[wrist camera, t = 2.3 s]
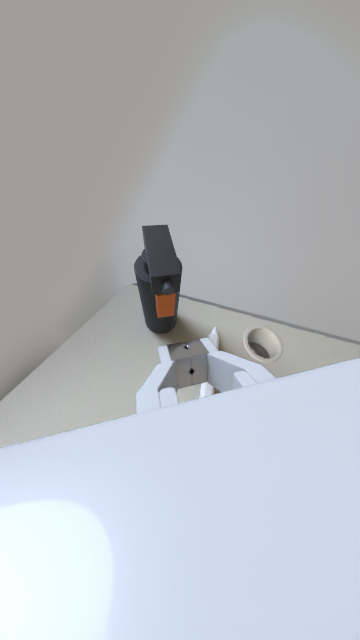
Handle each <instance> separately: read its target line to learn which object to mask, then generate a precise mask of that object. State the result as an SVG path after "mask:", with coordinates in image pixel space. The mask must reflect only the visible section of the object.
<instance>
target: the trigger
mask: <svg viewBox="0 0 360 640" xmlns="http://www.w3.org/2000/svg"><path fill="white" fill-rule="evenodd" d="M155 296H156V308H157V316H158V318H161V317H168V316H174V311H175V299H176V293H173V294H171V295H164V294H160V295H155Z"/></svg>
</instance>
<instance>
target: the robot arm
mask: <svg viewBox="0 0 360 640" xmlns="http://www.w3.org/2000/svg"><path fill="white" fill-rule="evenodd" d="M158 355H159V362H160V363H159V364H158V365H157V366H156V368H155V369H154V370H153V372H152V373H151V374H150V376H149V377H148V379H147V380H146V381H145V383H144V384H143V385H142V387H141V388H140V390H139V391H138V392H137V394H136V414H134V415H130V416H126V417H122V418H118V419H114V420H110V421H106V422H102V423H98V424H94V425H90V426H87V427H83V428H79V429H75V430H71V431H67V432H63V433H59V434H55V435H51V436H47V437H43V438H39V439H35V440H31V441H27V442H23V443H19V444H15V445H11V446H7V447H3V448H0V640H360V358H356V359H352V360H348V361H344V362H340V363H336V364H332V365H328V366H324V367H320V368H316V369H312V370H308V371H305V372H301V373H297V374H293V375H289V376H285V377H281V378H276V377H275V376H274V375H273V374H272V373H271V372H269V371H268V370H267V369H266V368H265V367H264V366H263V365H260V364H257V363H255V362H252V361H249V360H246V359H243V358H240V357H238V356H235V355H232V354H229V353H226V352H224V351H219V350H218V349H217V348H216V347H215V346H214V345H213V343H212V342H211V341H210V340H209V339H208V338H203V339H198V340H193V341H189V342H184V343H177V344H171V345H164V346H159V347H158ZM205 382H208V383H209V384H210V385H212V386H213V387H214V388H216V389H217V390H219V391H220V392H221V393H217V394H213V395H209V396H206V397H202V398H198V399H194V400H190V401H186V402H182V403H179V401H178V398H177V394H176V393H177V390H178V389H180V388H183V387H187V386H191V385H196V384H200V383H205Z"/></svg>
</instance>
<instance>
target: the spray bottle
mask: <svg viewBox="0 0 360 640" xmlns="http://www.w3.org/2000/svg"><path fill="white" fill-rule="evenodd" d="M142 230H143V238H144V246H145V249H144V250H143V252H142V255H141V256H139V257H138V259H137V260H136V262H135V264H134V270H135V274H136V280H137V284H138V289H139V293H140V298H141V303H142V307H143V312H144V317H145V321H146V325H147V327H148V328H149V329H150V330H151V331H153V332H155V333H166V332H169V331H170V330H172V329H173V328H174V326H175V324H176V319H177V310H178V301H179V292H180V283H181V274H182V264H181V262H180V260H179V259H178V258H177V256H176V253H175V249H174V246H173V243H172V239H171V236H170V232H169V229H168V225H155V226H154V225H153V226H142ZM173 293H176V299H175V311H174V316H168V317H161V318H158V316H157V308H156V296H155V295H160V294H164V295H171V294H173Z"/></svg>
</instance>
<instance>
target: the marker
mask: <svg viewBox="0 0 360 640" xmlns="http://www.w3.org/2000/svg"><path fill="white" fill-rule="evenodd" d="M208 339H209V340H210V341H211V342H212V343H213V345H214V346H215V347H216V348H217V349H218V346H219V337H218V335H217V332H216V327H214V329H213V331H212V333H211V334H210V335H209V336H208ZM213 394H214V387H213V386H212V385H210V384H209V383H208V382H205V383H202V384H201V392H200V398H202V397H206V396H209V395H213Z"/></svg>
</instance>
